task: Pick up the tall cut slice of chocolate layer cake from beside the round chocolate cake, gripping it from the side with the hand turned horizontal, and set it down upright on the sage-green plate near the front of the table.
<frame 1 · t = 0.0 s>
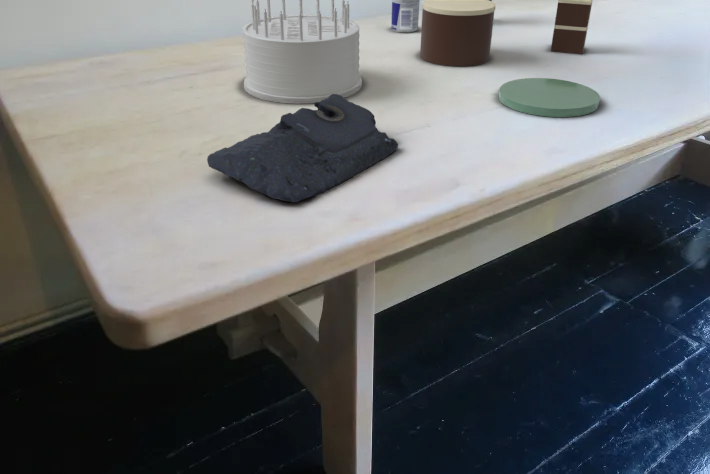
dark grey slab: (303, 160, 77), on the table
cake 2: (303, 85, 102), on the table
cake slice: (567, 50, 120), on the table
cake: (454, 56, 116), on the table
energy drink: (404, 30, 133), on the table
beverage cup: (476, 23, 139), on the table
plate: (547, 100, 96), on the table
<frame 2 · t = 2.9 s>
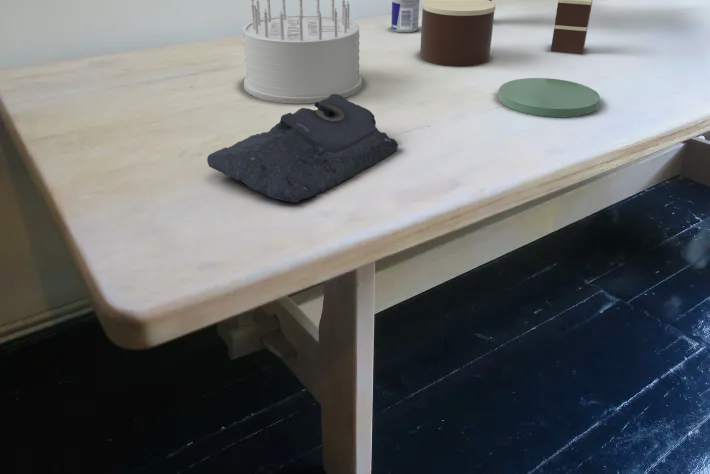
nothing on the table moved.
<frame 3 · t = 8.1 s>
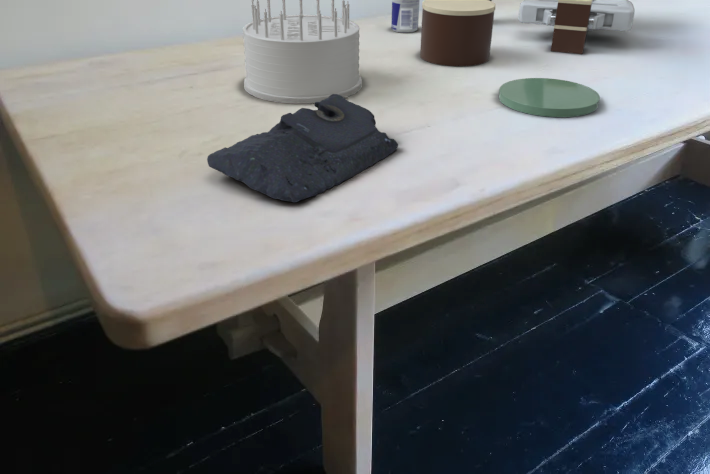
hand: (571, 22, 117), 5 cm above the table, tool horizontal, fingers closed on cake slice, 5 cm apart
cake slice: (567, 50, 120), on the table, touching gripper
everything else where it was.
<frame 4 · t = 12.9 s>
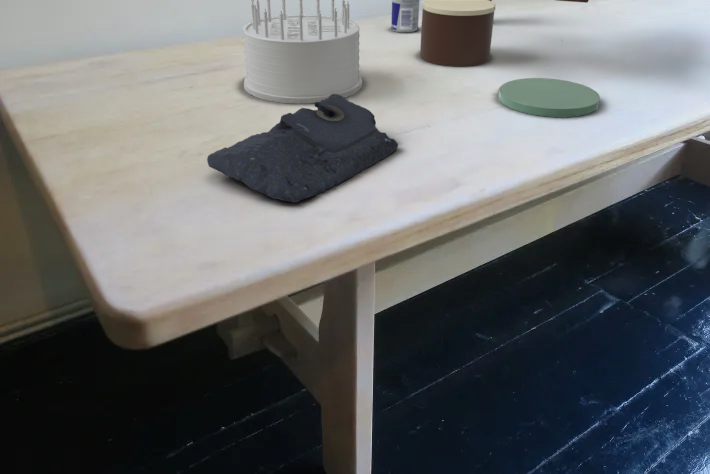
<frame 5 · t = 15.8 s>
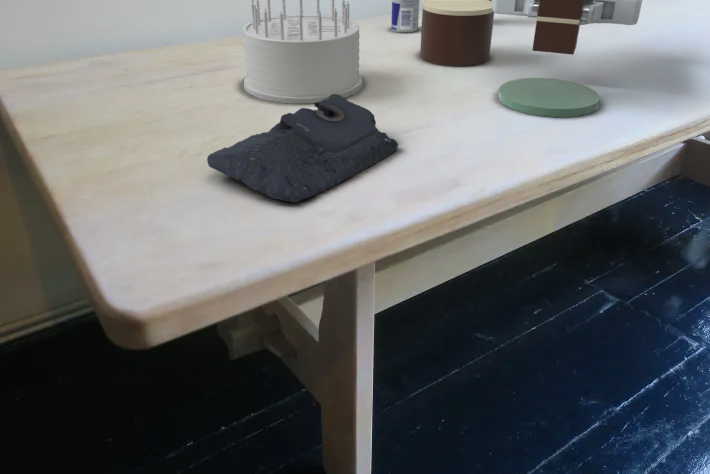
hand: (559, 13, 89), 12 cm above the table, tool horizontal, fingers closed on cake slice, 5 cm apart
cake slice: (554, 49, 92), point 7 cm above the table, touching gripper
everything else where it was.
when the fingers open (6 cm above the table, at t = 18.0 s): cake slice stays where it is, resting on plate.
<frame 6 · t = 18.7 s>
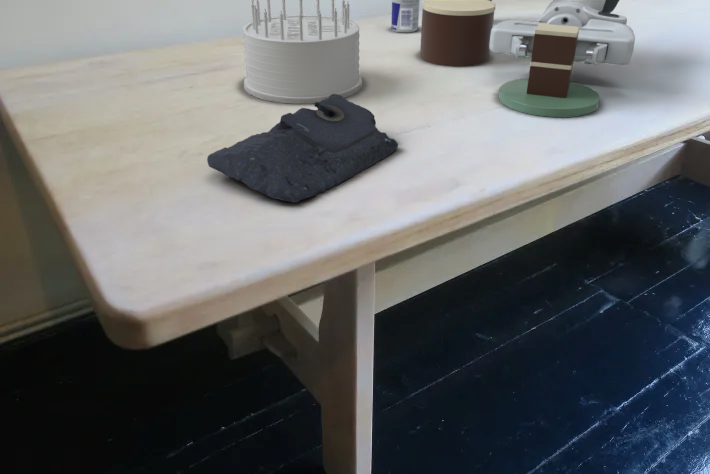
hand: (554, 55, 92), 7 cm above the table, tool horizontal, fingers open, 8 cm apart
cake slice: (547, 92, 95), point 1 cm above the table, touching plate
everything else where it was.
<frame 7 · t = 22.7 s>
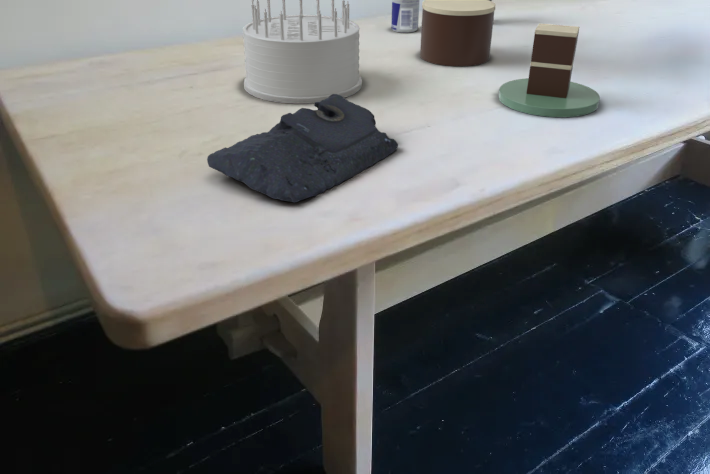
nothing on the table moved.
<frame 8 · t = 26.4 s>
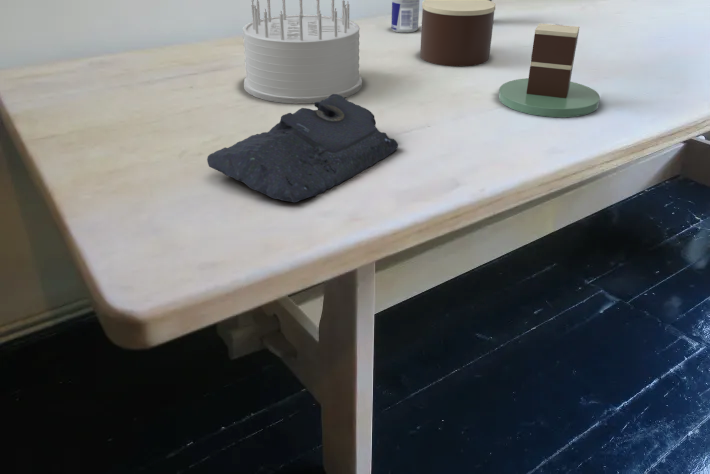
nothing on the table moved.
at the end: cake slice inside the target area on the plate (0.2 cm from its centre), point 1.2 cm above the plate's base; cake slice tilted 0°; the gripper is holding nothing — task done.
